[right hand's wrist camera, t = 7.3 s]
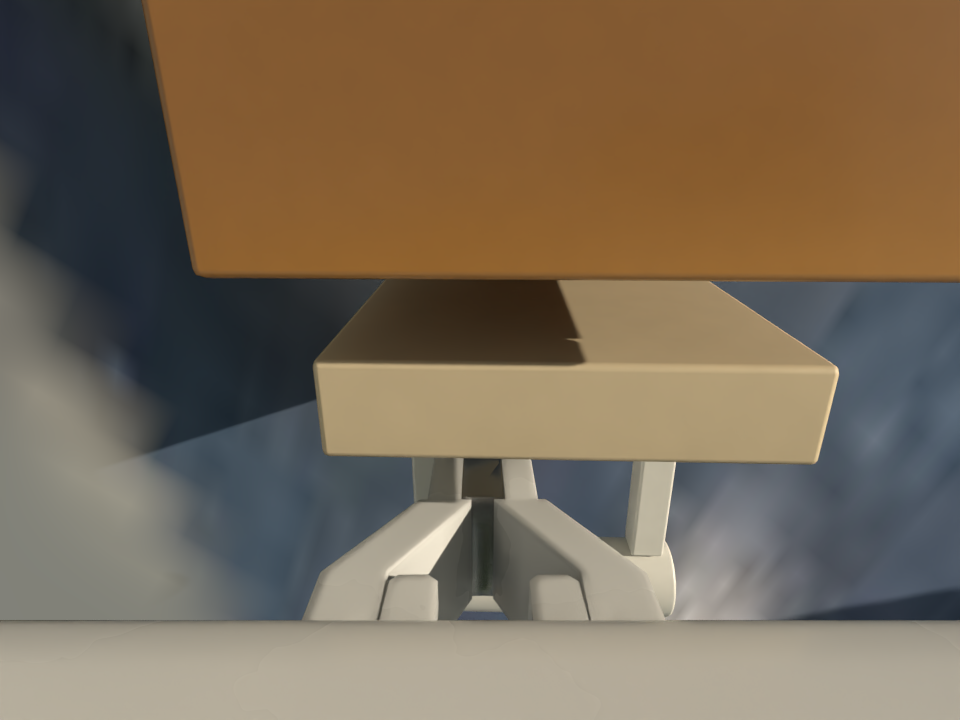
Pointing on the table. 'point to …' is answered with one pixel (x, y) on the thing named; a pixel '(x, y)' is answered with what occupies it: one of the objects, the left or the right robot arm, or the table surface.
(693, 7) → the cabinet
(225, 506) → the table surface
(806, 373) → the drawer
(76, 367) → the table surface
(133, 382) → the table surface
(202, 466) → the table surface
